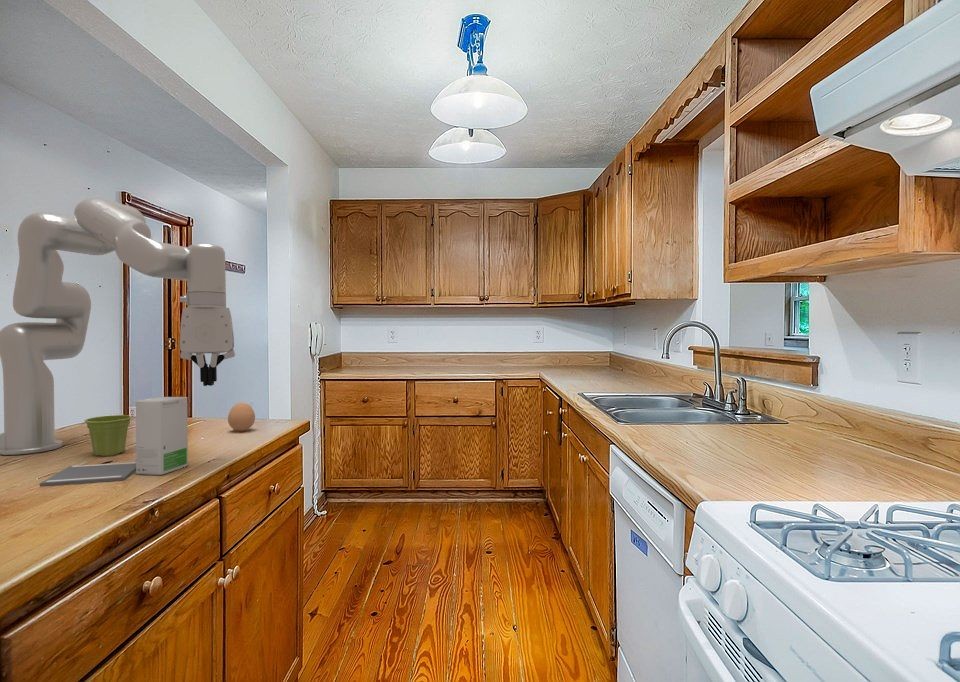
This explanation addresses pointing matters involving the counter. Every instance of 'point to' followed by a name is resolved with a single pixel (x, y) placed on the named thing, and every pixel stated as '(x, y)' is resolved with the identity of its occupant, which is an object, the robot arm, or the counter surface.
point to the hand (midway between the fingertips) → (208, 385)
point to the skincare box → (161, 435)
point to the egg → (241, 417)
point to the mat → (91, 474)
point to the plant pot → (108, 434)
